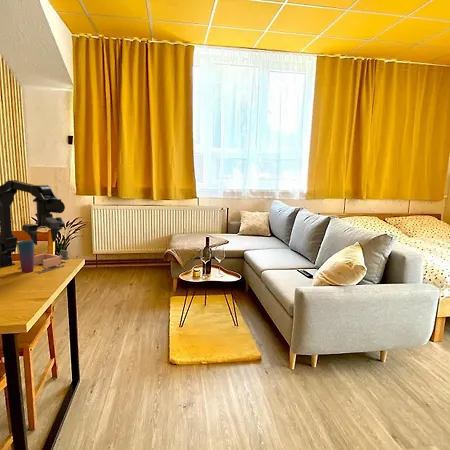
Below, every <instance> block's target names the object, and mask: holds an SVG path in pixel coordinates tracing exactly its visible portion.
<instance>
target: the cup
mask: <svg viewBox="0 0 450 450" xmlns="http://www.w3.org/2000/svg"><path fill="white" fill-rule="evenodd" d="M17 243H18V245H17V248H18V254H19V263H20V267H21V268H20V269H21V272H22V273H23V274H24V273H32V272H34V266H35V265H34V256H35V249H34V248H35V246H34V245H35V244H34V242H33V241H32V239H24V240H22V239H21V240H17Z"/></svg>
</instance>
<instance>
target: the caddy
mask: <svg viewBox="0 0 450 450" xmlns="http://www.w3.org/2000/svg"><path fill="white" fill-rule="evenodd" d="M63 260H64V261H68V260H69V254H68V250H65V249H64V250H63V249H60V250H59V255H55V254H50V253H46V252H45V253H41V254H36V255H34V264H36V263H40V262H43V263H42V269H43V271H44V270H47V268H52V267H54V266H55V267H56V266H58V267H59V266H62V265H61V264H62V261H63ZM40 264H41V263H40ZM36 265H37V264H36Z"/></svg>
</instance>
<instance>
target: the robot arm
mask: <svg viewBox="0 0 450 450" xmlns="http://www.w3.org/2000/svg"><path fill="white" fill-rule="evenodd" d="M18 191H20V192H25V193H29V194H30V195H31V196H32V197H35V198H34V199H33V200H32V202H33V203H36V213H34V215H35V216H36V219H37V220H36V221H35V224H32V223H27V224H23V225H22V226H21V231H22V232H24V233H26V234H27V235H28V236H29V237H30V240H32V241H33V242H34V245H35V246H37V245H38V233H39V229H46V228H48V229H49V230H50V235H51V240H52V242H53V243H56V239H57V236H58V233H59V232H60V231H61V230H62V229H63V228H65V227H66V224H65V221H63V218H62V217H60V216H59V217H54V216H53V213H54V214H63V213H64V211H65V209H66V206H65V203H64V202H63V201H62V198H57V196H56V195H55V193H54V191H53V190H52V188H51V186H50V185H48V184H46V185H45V184H42V185H41V184H39V185H37V184H31V183H27V182H22V181H21V180H20V181H19V180H18V179H10V180H7V181H6V182H5V183H2V184H1V185H0V267H2V268H3V267H8V266H12V265H16V263H15V262H13V256H12V255H13V254H12V253H15V252H16V251H17V248H18V237H17V236H15V235H14V234H13V230H12V229H13V228H12V213H11V206H12V204H13V202H14V199H15V196H16V194H17V193H18ZM35 216H34V217H35Z"/></svg>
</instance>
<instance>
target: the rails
mask: <svg viewBox="0 0 450 450" xmlns="http://www.w3.org/2000/svg"><path fill="white" fill-rule="evenodd" d="M40 264H43V262H40V263H36V264H34V266H36V265H40ZM64 266H65V267H66V265H64V264H63V265H60V266H59V265H58V266H55V267H50V268H49V269H45V270H44V269H43V270H40V271H38V272H37V274H43V273H46V272H50V271H54V270H57V268H58V269H61V268H64ZM60 267H61V268H60ZM18 269H21V266H19V267H18Z"/></svg>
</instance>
